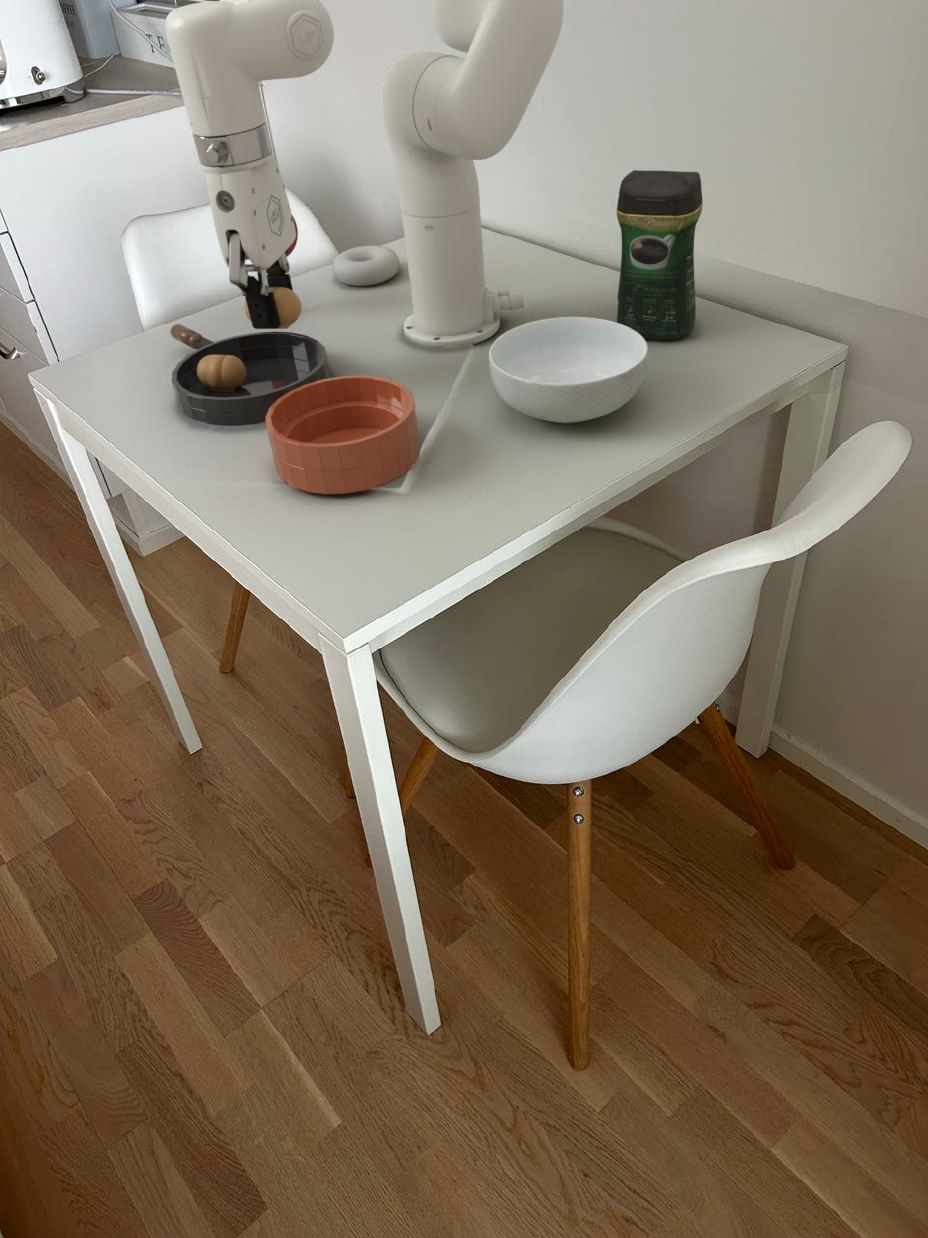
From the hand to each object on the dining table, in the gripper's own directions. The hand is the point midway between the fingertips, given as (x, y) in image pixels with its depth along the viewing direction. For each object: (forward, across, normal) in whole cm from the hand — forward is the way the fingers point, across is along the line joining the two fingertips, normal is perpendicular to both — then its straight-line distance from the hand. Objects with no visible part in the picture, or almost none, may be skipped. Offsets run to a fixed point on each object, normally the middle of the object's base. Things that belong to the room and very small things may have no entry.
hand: (275, 316), depth 110 cm
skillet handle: (+7, +7, +16) cm, 19 cm away
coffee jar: (+11, +20, -41) cm, 47 cm away
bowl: (+9, -15, -12) cm, 21 cm away
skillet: (+9, -1, +4) cm, 10 cm away
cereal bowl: (+10, -2, -34) cm, 35 cm away
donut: (+10, +37, +2) cm, 38 cm away
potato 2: (+1, 0, 0) cm, 1 cm away
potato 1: (+9, -1, +8) cm, 12 cm away
